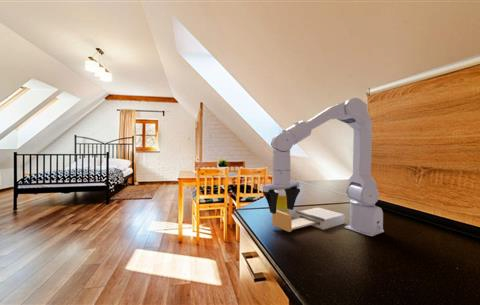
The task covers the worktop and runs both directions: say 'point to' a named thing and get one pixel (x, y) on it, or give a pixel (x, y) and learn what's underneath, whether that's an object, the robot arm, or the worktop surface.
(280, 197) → the supplement bottle
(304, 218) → the tan and white l-shape
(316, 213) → the dispenser
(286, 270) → the worktop surface
